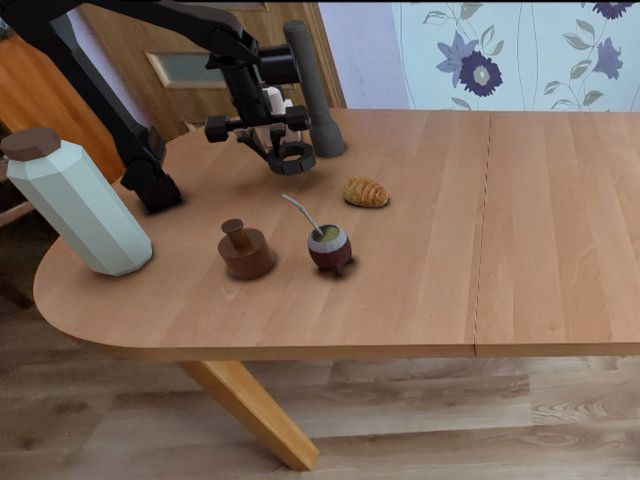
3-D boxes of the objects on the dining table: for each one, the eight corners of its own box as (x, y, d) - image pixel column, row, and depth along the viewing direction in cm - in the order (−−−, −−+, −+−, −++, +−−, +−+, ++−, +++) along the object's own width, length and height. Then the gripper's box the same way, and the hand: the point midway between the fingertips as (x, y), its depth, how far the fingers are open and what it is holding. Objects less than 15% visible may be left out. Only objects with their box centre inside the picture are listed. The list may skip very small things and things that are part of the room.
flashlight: (336, 138, 115) (309, 147, 112) (303, 14, 94) (269, 22, 91) (349, 150, 111) (322, 160, 108) (318, 25, 91) (282, 33, 88)
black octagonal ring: (314, 148, 104) (311, 138, 102) (317, 171, 98) (313, 161, 96) (271, 155, 102) (267, 144, 100) (270, 178, 96) (266, 168, 94)
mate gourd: (360, 272, 84) (341, 207, 73) (316, 286, 82) (289, 221, 71) (350, 246, 89) (330, 181, 78) (307, 259, 86) (281, 194, 75)
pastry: (395, 195, 100) (393, 180, 97) (378, 213, 96) (375, 199, 93) (358, 184, 102) (354, 170, 99) (340, 202, 98) (336, 187, 95)
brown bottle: (239, 286, 82) (216, 246, 75) (224, 262, 85) (200, 223, 79) (281, 265, 85) (263, 226, 78) (264, 244, 89) (245, 204, 82)
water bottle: (146, 276, 83) (48, 154, 64) (85, 282, 82) (-33, 160, 63) (164, 238, 89) (80, 118, 71) (107, 244, 88) (7, 122, 70)
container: (268, 131, 117) (248, 80, 107) (300, 127, 118) (283, 76, 109) (267, 147, 112) (246, 95, 102) (300, 143, 113) (283, 91, 104)
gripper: (296, 65, 94) (317, 134, 105) (195, 75, 90) (228, 147, 101) (297, 89, 87) (320, 161, 98) (187, 102, 83) (224, 175, 94)
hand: (273, 160), depth 98 cm, fingers closed on black octagonal ring, 2 cm apart
